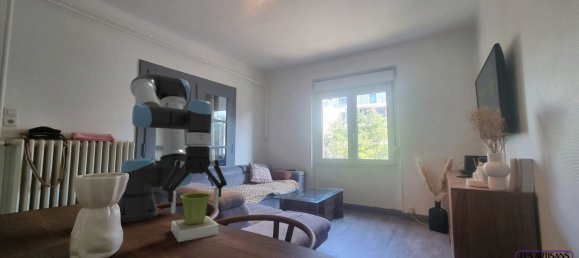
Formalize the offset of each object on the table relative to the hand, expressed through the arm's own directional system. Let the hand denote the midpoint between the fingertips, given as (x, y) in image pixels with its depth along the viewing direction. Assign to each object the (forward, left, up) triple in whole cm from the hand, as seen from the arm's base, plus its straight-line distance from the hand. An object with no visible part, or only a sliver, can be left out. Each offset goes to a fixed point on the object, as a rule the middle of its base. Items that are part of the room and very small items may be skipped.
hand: (195, 209), depth 79 cm
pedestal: (0, 0, -7) cm, 7 cm away
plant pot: (0, 0, -4) cm, 4 cm away
